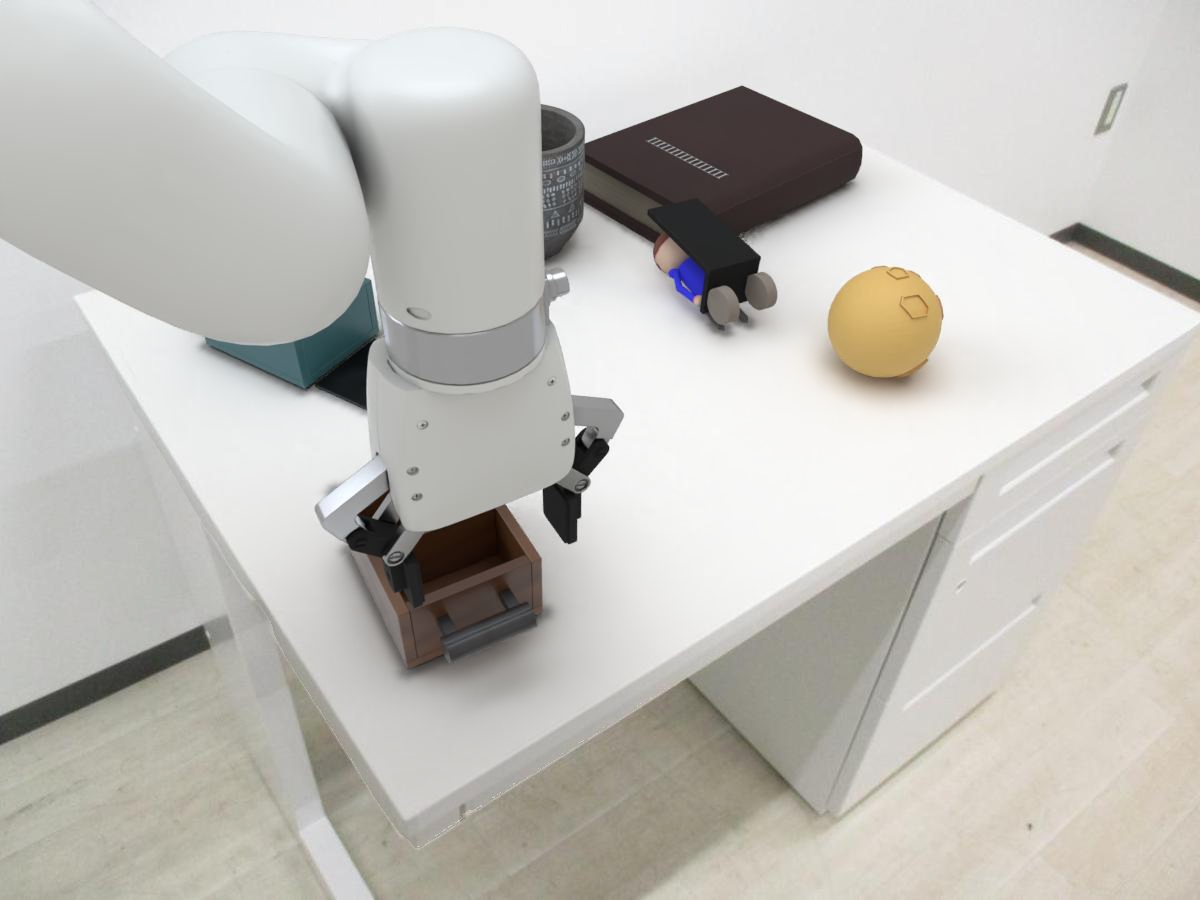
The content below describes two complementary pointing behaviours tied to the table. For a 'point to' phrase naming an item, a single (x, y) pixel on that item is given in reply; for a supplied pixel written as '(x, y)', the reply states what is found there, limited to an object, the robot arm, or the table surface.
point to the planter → (561, 176)
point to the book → (719, 162)
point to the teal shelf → (313, 344)
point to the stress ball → (885, 322)
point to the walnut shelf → (461, 587)
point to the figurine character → (710, 262)
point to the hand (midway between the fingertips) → (487, 557)
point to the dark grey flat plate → (349, 378)
